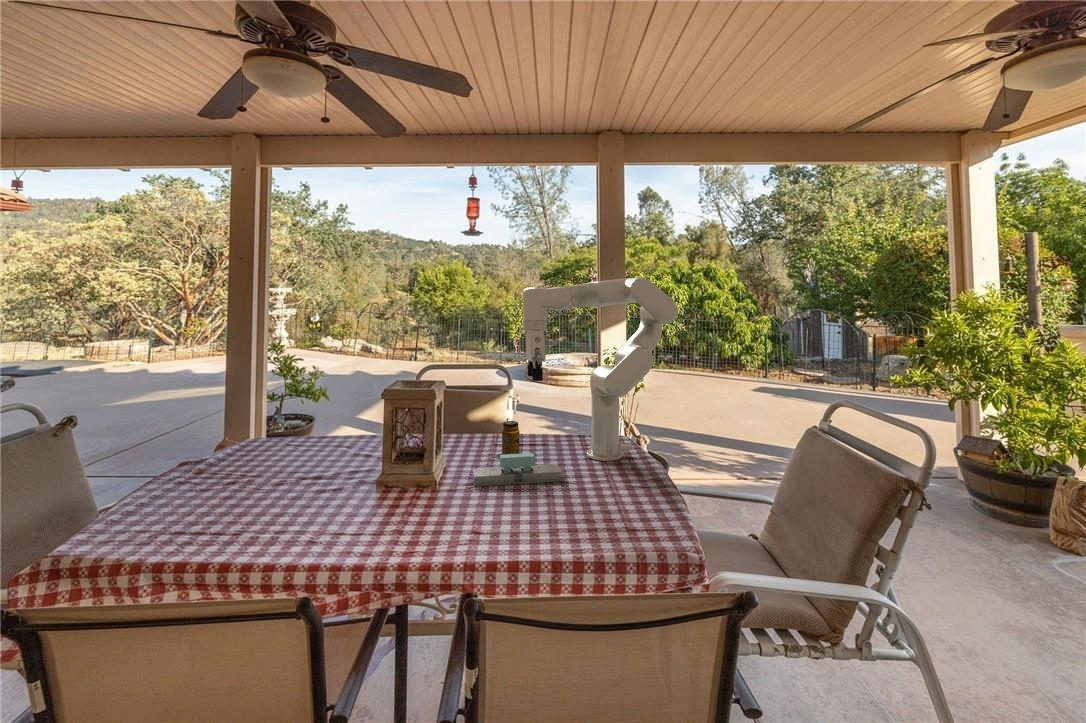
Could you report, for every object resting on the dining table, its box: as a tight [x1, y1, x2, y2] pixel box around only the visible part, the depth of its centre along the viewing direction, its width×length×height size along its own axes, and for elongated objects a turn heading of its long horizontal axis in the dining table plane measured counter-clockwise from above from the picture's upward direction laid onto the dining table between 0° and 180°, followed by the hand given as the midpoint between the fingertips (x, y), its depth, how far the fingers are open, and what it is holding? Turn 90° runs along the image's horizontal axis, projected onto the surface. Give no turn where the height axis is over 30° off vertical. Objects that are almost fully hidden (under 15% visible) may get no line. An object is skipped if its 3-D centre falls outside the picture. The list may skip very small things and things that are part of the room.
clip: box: [499, 452, 535, 473], centre depth 148 cm, size 10×3×7 cm, turn 100°
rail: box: [472, 463, 563, 488], centre depth 149 cm, size 26×7×3 cm, turn 100°
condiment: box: [493, 420, 521, 460], centre depth 171 cm, size 7×8×12 cm
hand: (534, 378), depth 162 cm, fingers open, 9 cm apart
